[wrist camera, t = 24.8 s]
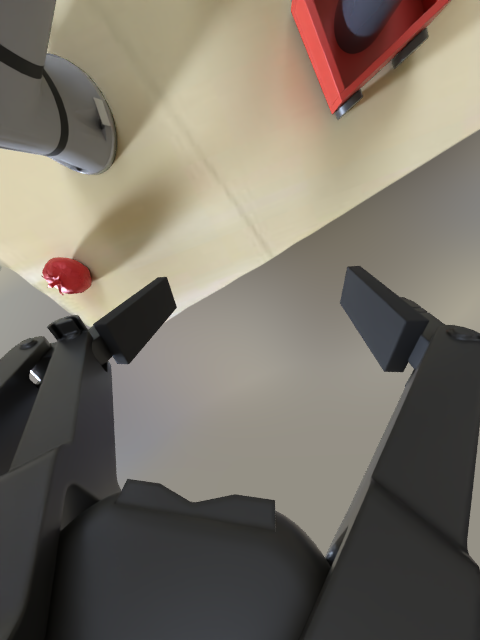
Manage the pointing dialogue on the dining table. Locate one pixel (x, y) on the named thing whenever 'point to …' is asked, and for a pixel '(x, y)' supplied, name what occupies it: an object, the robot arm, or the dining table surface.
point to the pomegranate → (67, 275)
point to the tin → (361, 22)
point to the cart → (357, 69)
